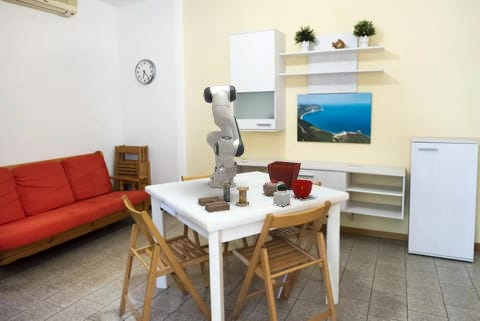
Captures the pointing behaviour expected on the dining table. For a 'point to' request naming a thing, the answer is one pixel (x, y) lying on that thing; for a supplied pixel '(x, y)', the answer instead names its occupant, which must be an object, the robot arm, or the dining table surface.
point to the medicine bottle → (281, 195)
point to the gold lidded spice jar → (226, 192)
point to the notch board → (214, 204)
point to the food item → (271, 187)
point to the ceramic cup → (301, 188)
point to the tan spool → (242, 196)
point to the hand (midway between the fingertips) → (226, 186)
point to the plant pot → (284, 172)
